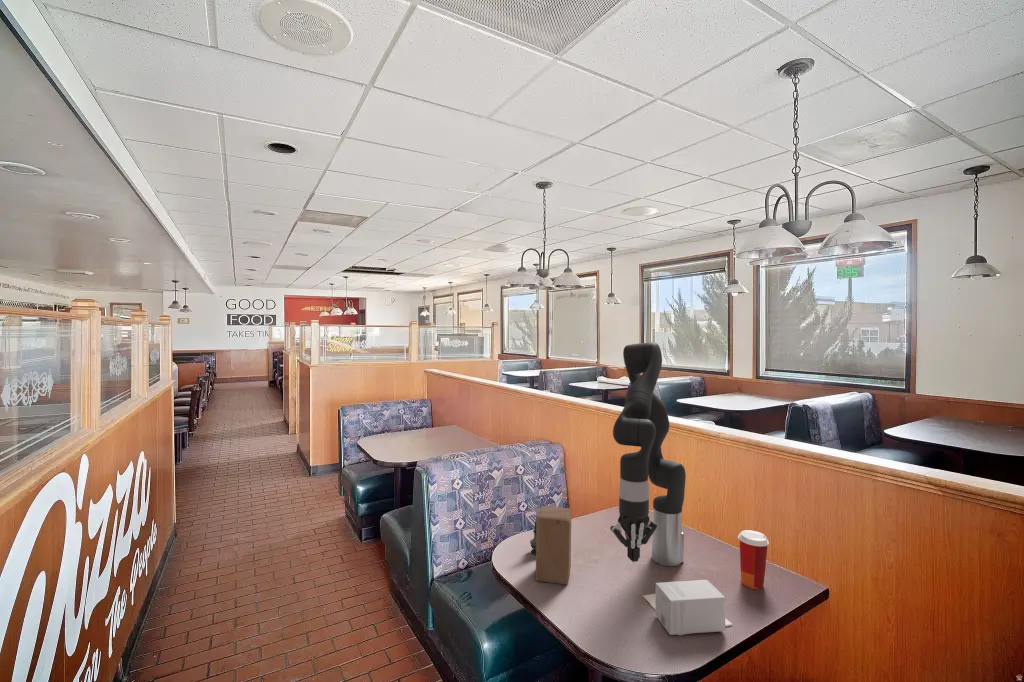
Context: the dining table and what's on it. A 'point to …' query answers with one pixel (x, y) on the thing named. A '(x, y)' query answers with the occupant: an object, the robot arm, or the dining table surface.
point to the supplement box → (690, 607)
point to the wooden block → (553, 545)
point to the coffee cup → (753, 558)
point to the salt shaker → (534, 542)
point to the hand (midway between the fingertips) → (633, 560)
